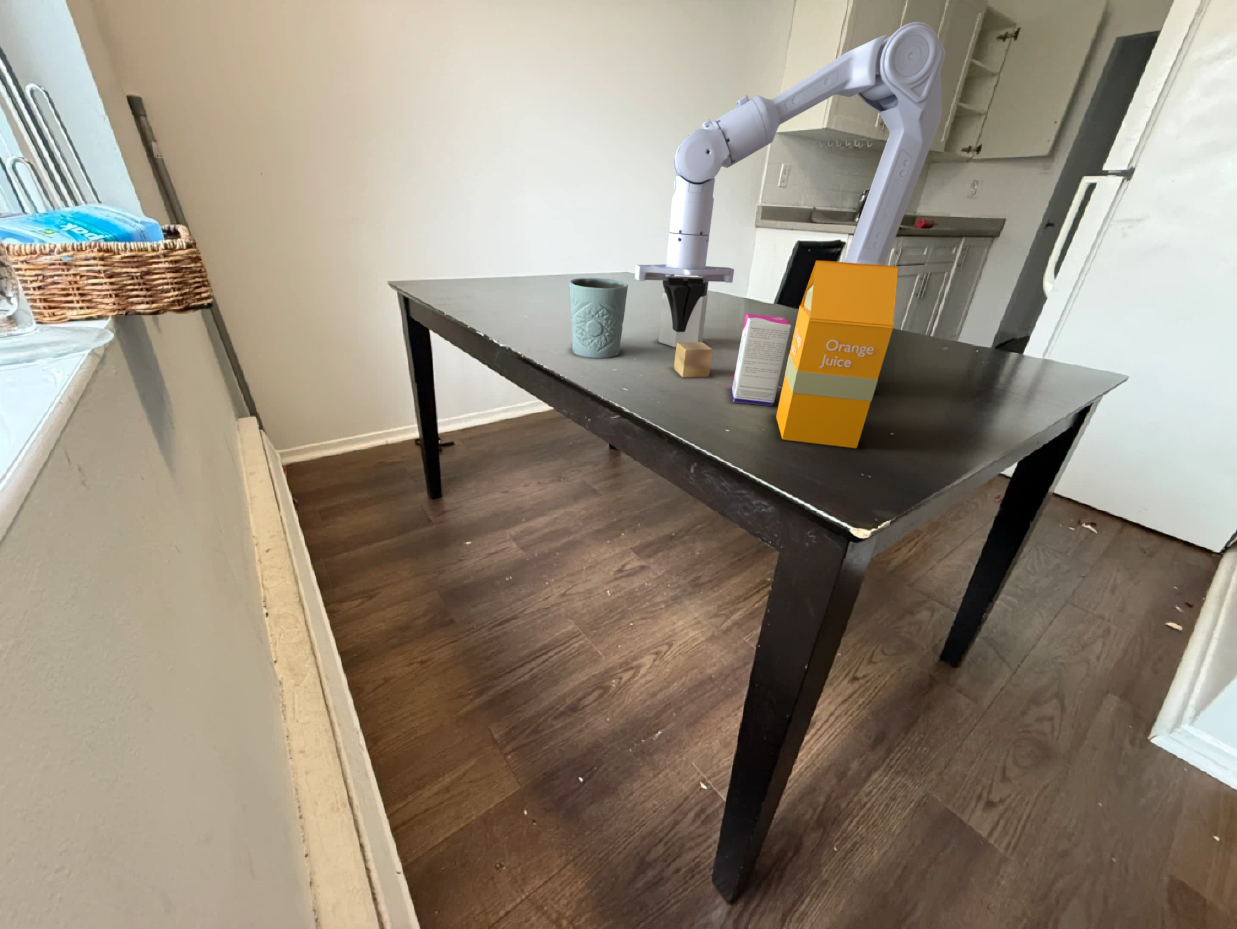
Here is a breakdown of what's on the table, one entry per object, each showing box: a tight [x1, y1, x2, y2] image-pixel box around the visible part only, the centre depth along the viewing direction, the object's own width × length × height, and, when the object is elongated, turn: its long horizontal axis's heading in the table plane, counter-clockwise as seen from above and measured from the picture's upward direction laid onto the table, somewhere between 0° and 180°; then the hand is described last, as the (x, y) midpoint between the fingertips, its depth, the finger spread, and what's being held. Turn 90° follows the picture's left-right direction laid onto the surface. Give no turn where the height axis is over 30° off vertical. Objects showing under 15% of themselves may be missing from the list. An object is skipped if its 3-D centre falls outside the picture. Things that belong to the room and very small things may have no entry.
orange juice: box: [775, 259, 899, 449], centre depth 60 cm, size 8×9×20 cm
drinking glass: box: [568, 277, 629, 359], centre depth 89 cm, size 10×10×12 cm
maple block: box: [673, 341, 713, 378], centre depth 83 cm, size 4×4×4 cm
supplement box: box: [731, 313, 792, 407], centre depth 72 cm, size 6×6×12 cm
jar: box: [658, 275, 709, 349], centre depth 98 cm, size 9×8×12 cm
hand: (678, 330), depth 78 cm, fingers closed
